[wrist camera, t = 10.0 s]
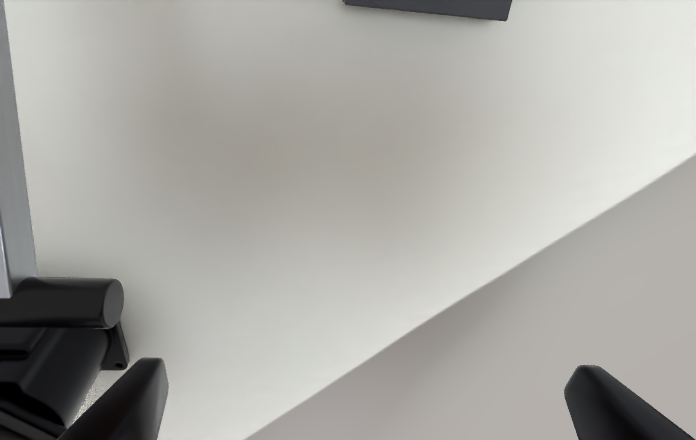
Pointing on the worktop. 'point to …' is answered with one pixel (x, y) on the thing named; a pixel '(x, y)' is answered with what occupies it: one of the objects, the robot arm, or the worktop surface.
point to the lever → (18, 245)
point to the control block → (444, 7)
